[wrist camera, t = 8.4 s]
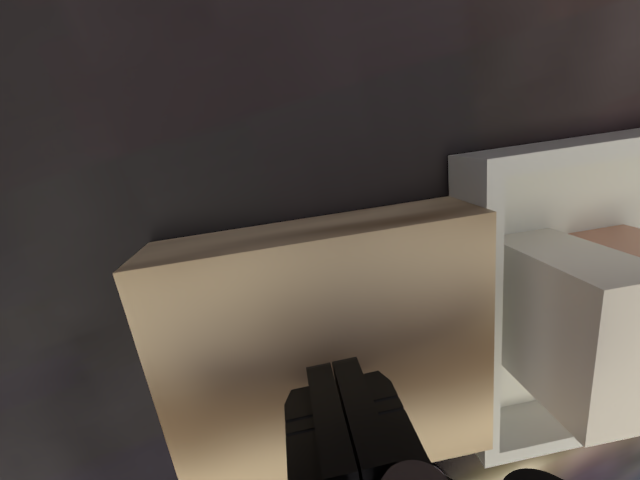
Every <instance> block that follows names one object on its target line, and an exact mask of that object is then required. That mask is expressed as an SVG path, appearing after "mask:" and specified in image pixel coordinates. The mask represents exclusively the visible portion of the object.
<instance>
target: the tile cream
mask: <svg viewBox="0 0 640 480" xmlns="http://www.w3.org/2000/svg"><path fill="white" fill-rule="evenodd" d="M501 365H502V366H503V367H504V368H505V369H506V370H507V371H508V372H509V373H510V374H511V375H512V376H513V377H514V378H515V379H516V380H517V381H518V382H519V383H520V384H521V385H522V386H523V387H524V388H525V389H526V390H527V391H528V392H529V393H530V394H531V395H532V396H533V397H534V398H535V399H536V400H537V401H538V402H539V403H540V404H541V405H542V406H543V407H544V408H545V409H546V410H547V411H548V412H549V413H550V414H551V415H552V416H553V417H554V418H555V419H556V420H557V421H558V422H559V423H560V424H561V425H562V426H563V427H564V428H565V429H566V430H567V431H568V432H569V433H570V434H571V435H572V436H573V437H574V438H575V439H576V440H577V441H578V442H579V443H580V444H581V445H582V446H583V447H585V448H586V447H591V446H595V445H600V444H605V443H609V442H614V441H619V440H623V439H628V438H633V437H637V436H640V257H637V256H634V255H631V254H628V253H625V252H622V251H619V250H616V249H613V248H610V247H607V246H604V245H600V244H597V243H594V242H591V241H588V240H585V239H582V238H579V237H576V236H573V235H570V234H567V233H564V232H561V231H557V230H554V229H551V228H545V229H539V230H532V231H526V232H519V233H513V234H506V235H504V273H503V318H502V363H501Z"/></svg>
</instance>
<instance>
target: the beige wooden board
mask: <svg viewBox="0 0 640 480" xmlns="http://www.w3.org/2000/svg"><path fill="white" fill-rule="evenodd" d="M495 271H496V211H492V210H489V209H486V208H483V207H480V206H477V205H474V204H471V203H468V202H465V201H462V200H459V199H456V198H453V197H450V196H446V197H439V198H433V199H426V200H420V201H414V202H407V203H401V204H394V205H388V206H381V207H375V208H368V209H362V210H355V211H349V212H342V213H336V214H329V215H323V216H316V217H310V218H303V219H297V220H290V221H284V222H277V223H271V224H264V225H258V226H251V227H245V228H238V229H232V230H225V231H219V232H213V233H206V234H200V235H193V236H187V237H180V238H174V239H167V240H161V241H154V242H149V243H148V244H147V245H145V246H144V247H143V248H142V249H141V250H139V251H138V252H137V253H136V254H135V255H133V256H132V257H131V258H130V259H129V260H128V261H126V262H125V263H124V264H123V265H122V266H120V267H119V268H118V269H117V270H116V271H115V272H113V276H114V280H115V283H116V286H117V289H118V292H119V295H120V298H121V301H122V305H123V308H124V311H125V314H126V317H127V320H128V323H129V327H130V330H131V333H132V336H133V339H134V342H135V345H136V349H137V352H138V355H139V358H140V361H141V364H142V367H143V370H144V374H145V377H146V380H147V383H148V386H149V389H150V392H151V396H152V399H153V402H154V405H155V408H156V411H157V414H158V418H159V421H160V424H161V427H162V430H163V433H164V436H165V439H166V443H167V446H168V449H169V452H170V455H171V458H172V461H173V465H174V468H175V471H176V474H177V477H178V480H288V479H287V457H286V434H285V412H284V404H285V402H286V400H287V397H288V395H289V393H290V391H291V390H292V389H297V388H302V387H306V386H309V385H308V378H307V371H306V367H310V366H315V365H319V364H324V363H329V362H330V363H331V367H332V371H333V366H332V362H333V361H338V360H342V359H347V358H351V357H357V359H358V362H359V364H360V367H361V369H362V372H363V374H365V373H369V372H374V371H379V372H381V373H382V374H383V375H384V376H386V377H387V378H388V379H389V380H391V382H392V384H393V386H394V388H395V390H396V392H397V394H398V397H399V398H400V400H401V402H402V404H403V406H404V410H405V411H406V413H407V415H408V417H409V419H410V421H411V423H412V425H413V427H414V429H415V431H416V433H417V435H418V437H419V439H420V441H421V444H422V446H423V448H424V450H425V452H426V454H427V456H428V458H429V459H430V461H431V463H432V462H437V461H441V460H446V459H450V458H455V457H460V456H464V455H469V454H473V453H478V452H482V451H487V450H491V449H493V401H494V336H495ZM333 375H334V372H333ZM334 379H335V377H334Z"/></svg>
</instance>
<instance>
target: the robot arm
mask: <svg viewBox="0 0 640 480" xmlns="http://www.w3.org/2000/svg"><path fill="white" fill-rule="evenodd" d="M332 366H333V371H332V367H331V363H330V362H329V363H324V364H319V365H315V366H310V367H306V371H307V378H308V385H309V386H306V387H302V388H297V389H292V390H291V391H290V393H289V395H288V397H287V400H286V402H285V404H284V412H285V434H286V457H287V479H288V480H452V479H450V478H449V477H447V476H445V475H444V474H443V473H442V472H441V471H440V470H438V469H437V468H436V467H435V466H434V465H433V464H432V463H431V461H430V459H429V458H428V456H427V454H426V452H425V450H424V448H423V446H422V444H421V441H420V439H419V437H418V435H417V433H416V431H415V429H414V427H413V425H412V423H411V421H410V419H409V417H408V415H407V413H406V411H405V410H404V406H403V404H402V402H401V400H400V398H399V397H398V394H397V392H396V390H395V388H394V386H393V384H392V382H391V380H389V379H388V378H387V377H386V376H384V375H383V374H382V373H381V372H379V371H374V372H369V373H365V374H363V372H362V369H361V367H360V364H359V362H358V359H357V357H351V358H347V359H342V360H338V361H333V362H332ZM333 372H334V375H333ZM334 377H335V379H334ZM503 480H563V479H561V478H559V477H557V476H554V475H552V474H550V473H547V472H544V471H541V470H537V469H518V470H515V471H513V472H511V473H509V474H508V475H507V476H506V477H505V478H504V479H503Z"/></svg>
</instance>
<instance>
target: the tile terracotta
mask: <svg viewBox="0 0 640 480" xmlns="http://www.w3.org/2000/svg"><path fill="white" fill-rule="evenodd" d="M568 234H570V235H573V236H576V237H579V238H582V239H585V240H588V241H591V242H594V243H597V244H600V245H604V246H607V247H610V248H613V249H616V250H619V251H622V252H625V253H628V254H631V255H634V256H637V257H640V228H636V227H632V226H628V225H624V224H622V225H616V226H610V227H604V228H598V229H592V230H586V231H580V232H574V233H568Z"/></svg>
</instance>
